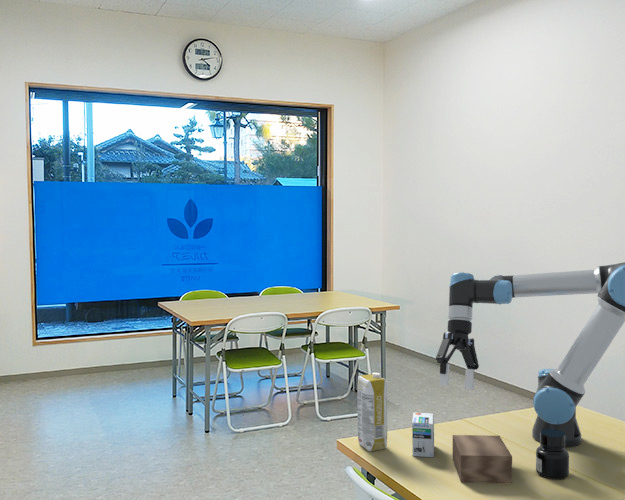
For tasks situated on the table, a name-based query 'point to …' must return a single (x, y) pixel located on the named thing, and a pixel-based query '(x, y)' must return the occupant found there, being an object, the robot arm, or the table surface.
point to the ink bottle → (552, 455)
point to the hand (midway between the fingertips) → (456, 387)
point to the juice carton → (372, 411)
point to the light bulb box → (423, 434)
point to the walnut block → (482, 459)
